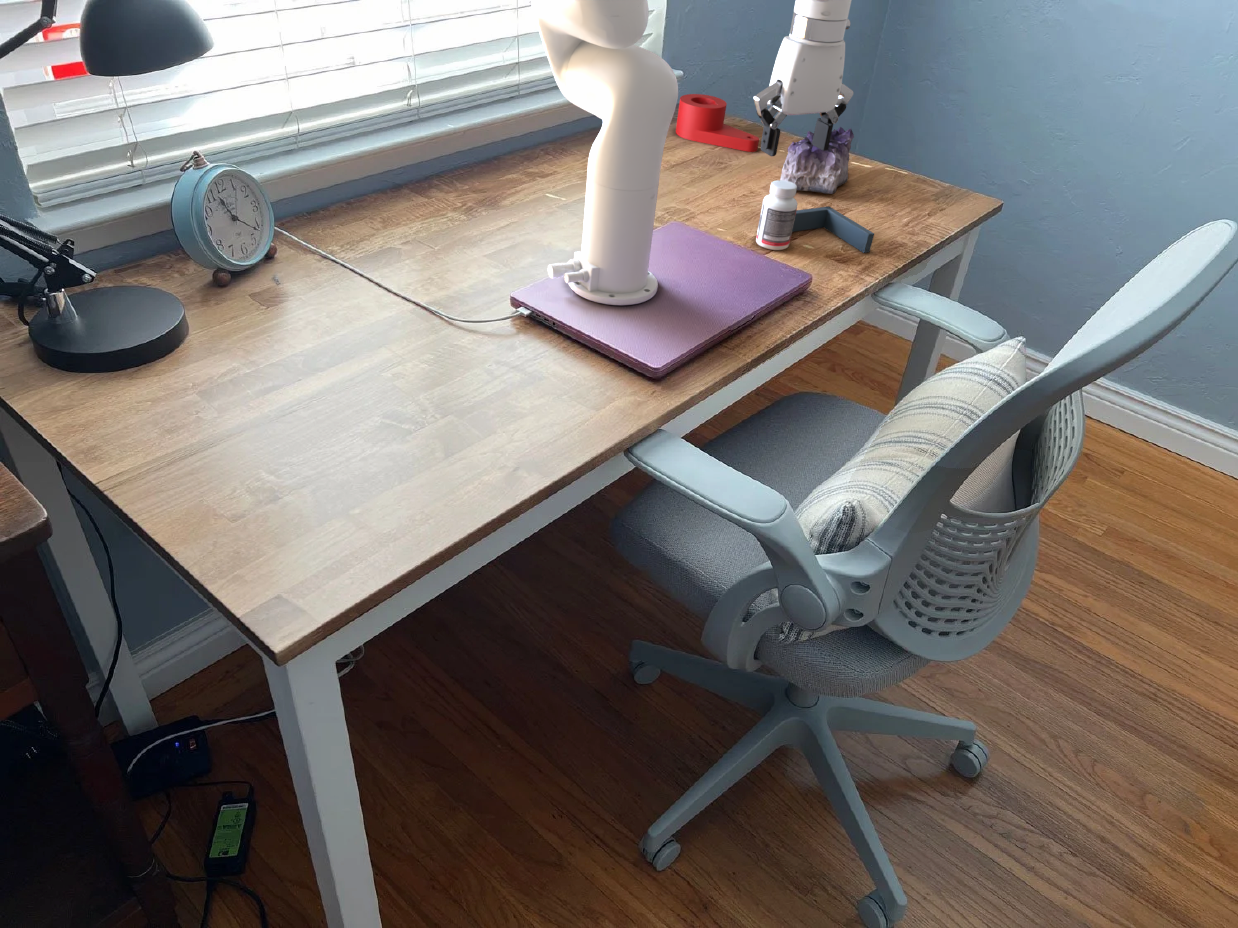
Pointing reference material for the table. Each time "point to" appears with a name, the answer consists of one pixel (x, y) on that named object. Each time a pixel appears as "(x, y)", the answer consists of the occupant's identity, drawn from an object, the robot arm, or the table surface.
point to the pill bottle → (777, 216)
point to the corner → (834, 226)
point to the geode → (819, 163)
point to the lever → (710, 123)
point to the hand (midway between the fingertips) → (794, 150)
